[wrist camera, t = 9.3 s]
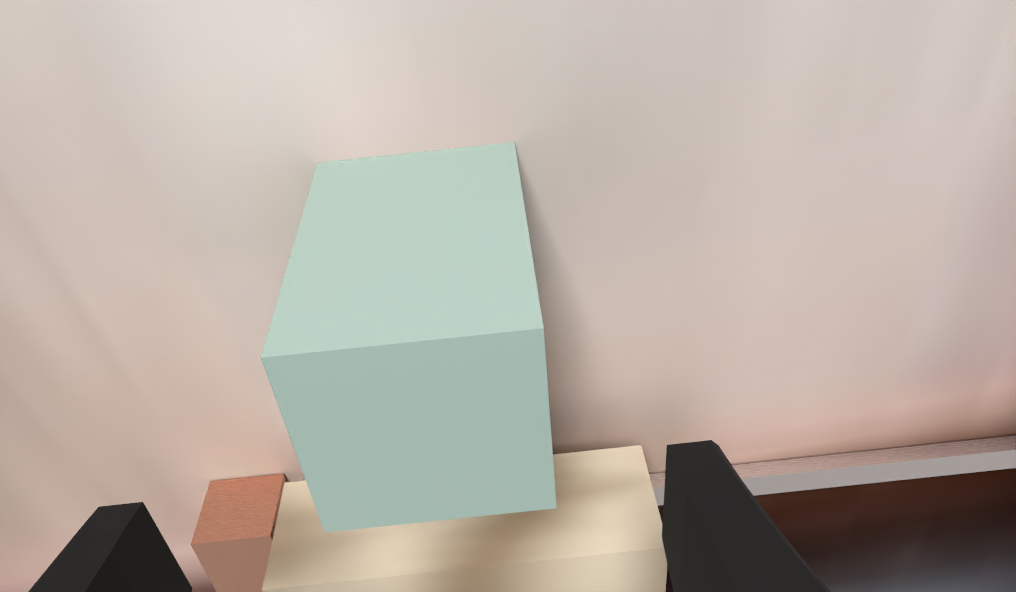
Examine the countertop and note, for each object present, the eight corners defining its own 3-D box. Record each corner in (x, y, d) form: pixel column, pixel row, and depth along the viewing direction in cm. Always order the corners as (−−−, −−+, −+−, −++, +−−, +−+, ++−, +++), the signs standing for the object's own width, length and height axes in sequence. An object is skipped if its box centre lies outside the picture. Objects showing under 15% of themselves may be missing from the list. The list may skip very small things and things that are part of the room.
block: (514, 141, 16) (543, 328, 11) (528, 298, 18) (556, 508, 13) (318, 162, 16) (260, 357, 11) (357, 316, 18) (324, 532, 13)
